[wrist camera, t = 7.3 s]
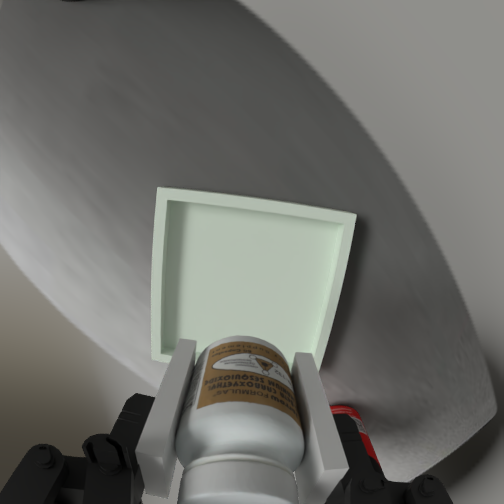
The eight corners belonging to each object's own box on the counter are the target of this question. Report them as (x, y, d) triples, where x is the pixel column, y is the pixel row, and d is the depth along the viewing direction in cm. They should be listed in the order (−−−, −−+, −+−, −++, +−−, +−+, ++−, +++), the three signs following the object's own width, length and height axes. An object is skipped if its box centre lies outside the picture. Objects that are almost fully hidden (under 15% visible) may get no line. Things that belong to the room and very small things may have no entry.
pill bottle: (304, 347, 13) (347, 491, 5) (268, 413, 14) (278, 543, 6) (210, 318, 12) (172, 466, 5) (185, 390, 13) (150, 522, 6)
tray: (164, 186, 21) (157, 187, 19) (348, 211, 22) (356, 214, 20) (157, 348, 24) (151, 359, 23) (312, 367, 25) (316, 379, 23)
